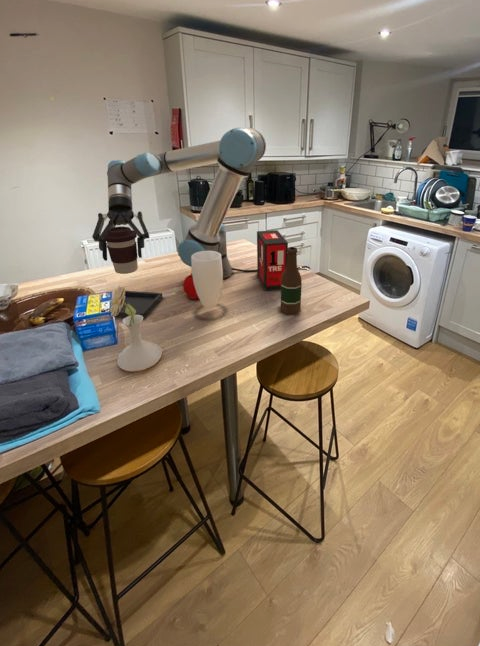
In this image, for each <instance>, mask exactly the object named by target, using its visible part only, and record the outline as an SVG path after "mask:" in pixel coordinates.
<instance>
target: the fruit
mask: <svg viewBox="0 0 480 646" xmlns="http://www.w3.org/2000/svg"><path fill="white" fill-rule="evenodd" d="M182 289H183V292H184V293H185V295H186V296H187V297H189V298H190V299H193V300H194V299H199V297H198V295H197V292H196V289H195V286H194V282H193V276H192V272H191V273H190V274H189V275H187V276H185V278H184V280H183V282H182Z"/></svg>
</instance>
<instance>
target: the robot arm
mask: <svg viewBox="0 0 480 646" xmlns="http://www.w3.org/2000/svg"><path fill="white" fill-rule="evenodd" d="M266 151H267V142H266V139H265V137H264V135H263V134H262V133H261V132H260V131H259V130H257V129H256V128H252V127H234V128H232V129H229V130H228V131H226V132H225V133H224V134H223V135H222V137H221V138H220V140H216V141H211V142H206V143H201V144H197V145H192V146H187V147H182V148H177V149H174V150H169V151H163V152H159V153H153V154H152V153H150V152H143V153H141V154H140V153H139V154H137V155H136V156H134V157H133V158H131V159H129V160H127V161H125V160H122V159H117V160H115V159H114V160H110V161H109V163H108V164H107V170H106V171H107V172H106V175H107V176H106V177H107V199H108V201H107V202H108V203H107V204H108V206H107V207H108V211H107V213H102V212H98V214H97V217H98V218H97V223H96V225H95V227H94V229H93V234H92V236H91V238H92V239H93V241H94V242H98V249H99V250H100V252H101V253H102V254H101V255H102V259H103V261H105V262H106V261H108V248H107V242H106V241H104V238H103V235H104V234H105V233H107V231H108V229H110V228H114V227H117V226H128V227H129V228H130V229H131V230H133V231H135V232H136V235H137V237H136V240H137V241H136V245H137V256H138V258H139V259H142V257H143V254H142V249H144V248H145V239H150V234H149V231H148V229H147V227H146V225H145V222H144V218H143V213H142V211H138V212H134V211H133V193H132V185H133V184H136V183H138V182H140V181H143V180H144V179H147V178H151V177H154V176H158V175H164V174H169V173H172V172H177V171H184V170H188V169H193V168H194V169H195V168H198V167H204V166H209V165H214V164H218V166H219V167H218V169H217V172H216V174H215V177H214V179H213V181H212V184H211V186H210V189H209V191H208V193H207V196H206V198H205V201H204V204H203V206H202V208H201V211H200V213H199V216H198V217H197V221H196V223H194V224H192V225H190V226H189V229H188V231H187V234H186V236H185V238H184V239H183V240H181V242H180V243H179V244H178V246H177V255H178V256H179V258H180V261H181V262H183V264H185V265H186V266H188V267H190V268H192V264H191V256H192V255H193V254H194V253H197V252H200V251H215V252H218V253H220V254H221V259H222V269H223V280H225V279H228V278H230V277H231V275H232V274H233V271H236V272H237V271H238V272H243V273H254V272H257V269H240V268H236V267H235V268H234V267H232V265H231V263H230V260H229V258H228V252H227V251H228V249H227V230H226V225H225V224H223V223H224V222H225V219H226V217H227V214H228V213H229V211H230V208H231V205H232V204H233V201H234V199H235V197H236V195H237V192H238V190H239V189H240V185H241V183H242V181H243V179H246V178H248V177H249V176H250V174H251V172H252V171H253V168H254V166H255V164H256V162H259V161H260V160H261V159H262V158H263V157H264V155H265V153H266ZM134 218H135V219H136V220H138V222H139V225H140V227H141V229H142V231H143V233H142V231H140V229H139V228H138V227H137V226H136V224H135V223H134V222H133V221H132V220H133V219H134ZM107 219H109V220H108V223H107V225H106V226H105V228H104V225H105V222H106V221H107ZM103 228H104V229H103ZM300 267H302V268H300ZM305 268H306V269H308V270H311V267H310V266H309V265H303V266H297V270H300V269H305Z"/></svg>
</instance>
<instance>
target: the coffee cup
mask: <svg viewBox="0 0 480 646" xmlns="http://www.w3.org/2000/svg"><path fill="white" fill-rule="evenodd" d="M103 238H104V241H106V243H107V252H108V255H109V258H110V261H111V263H112V266H113V269H114V271H115V273H116V274H119V275H127V274H131V273H134V272H136V271H138V269H139V264H138V258H139V256H138V245H137V241H136V239H137V238H138V236H137V234H136V232H135V231H133V229H132V228H131V227H130V226H115V227H114V228H110V229H108V231H107V233H105V234H104V235H103Z"/></svg>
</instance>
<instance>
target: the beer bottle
mask: <svg viewBox="0 0 480 646" xmlns="http://www.w3.org/2000/svg"><path fill="white" fill-rule="evenodd" d="M287 252H288V255H287V266H286V269H285V271H284V272H283V274H282V276H281V289H280V312H281V313H283V314H285V315H286V316H287V315H288V316H289V315H292V316H293V315H296V314H298V313H300V312H301V306H302V304H301V303H302V288H303V287H302V276H301V273H300V270H299V269H297V267H298V256H297V254H298V248H297V247H294V246H290V247H289V246H288V249H287Z"/></svg>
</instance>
